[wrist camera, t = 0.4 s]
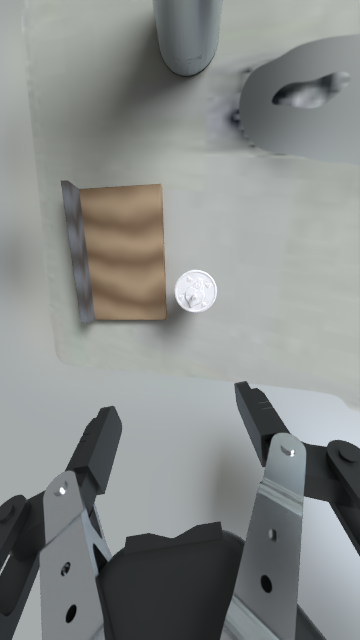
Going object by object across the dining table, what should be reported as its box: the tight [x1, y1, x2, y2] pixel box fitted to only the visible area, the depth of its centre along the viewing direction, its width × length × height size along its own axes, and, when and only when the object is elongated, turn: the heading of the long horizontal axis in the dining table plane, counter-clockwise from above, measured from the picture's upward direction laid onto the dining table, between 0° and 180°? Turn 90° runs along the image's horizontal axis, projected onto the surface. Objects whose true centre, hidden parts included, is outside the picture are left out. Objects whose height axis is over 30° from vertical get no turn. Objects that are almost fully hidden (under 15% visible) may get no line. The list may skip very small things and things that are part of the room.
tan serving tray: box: [61, 181, 167, 323], centre depth 34 cm, size 24×16×4 cm
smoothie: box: [175, 270, 217, 313], centre depth 30 cm, size 6×6×14 cm
